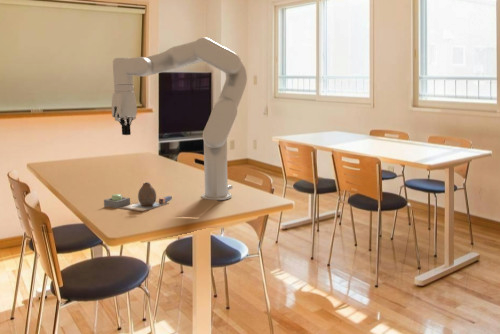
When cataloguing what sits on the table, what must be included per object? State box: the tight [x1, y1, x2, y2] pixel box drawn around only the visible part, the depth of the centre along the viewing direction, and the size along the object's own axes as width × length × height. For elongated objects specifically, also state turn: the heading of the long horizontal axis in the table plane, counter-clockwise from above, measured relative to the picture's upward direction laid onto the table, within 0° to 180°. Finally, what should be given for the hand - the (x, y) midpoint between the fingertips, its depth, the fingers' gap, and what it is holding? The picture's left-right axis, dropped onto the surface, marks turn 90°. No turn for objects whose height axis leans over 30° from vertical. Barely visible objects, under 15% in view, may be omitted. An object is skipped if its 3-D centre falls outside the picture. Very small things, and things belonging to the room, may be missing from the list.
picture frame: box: [118, 200, 169, 213], centre depth 195 cm, size 15×12×1 cm
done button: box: [111, 193, 123, 201], centre depth 197 cm, size 4×4×4 cm
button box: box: [103, 196, 131, 209], centre depth 197 cm, size 7×7×3 cm
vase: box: [137, 182, 157, 206], centre depth 194 cm, size 7×7×9 cm
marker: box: [158, 195, 173, 203], centre depth 202 cm, size 10×2×2 cm, turn 169°
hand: (126, 134), depth 204 cm, fingers closed
